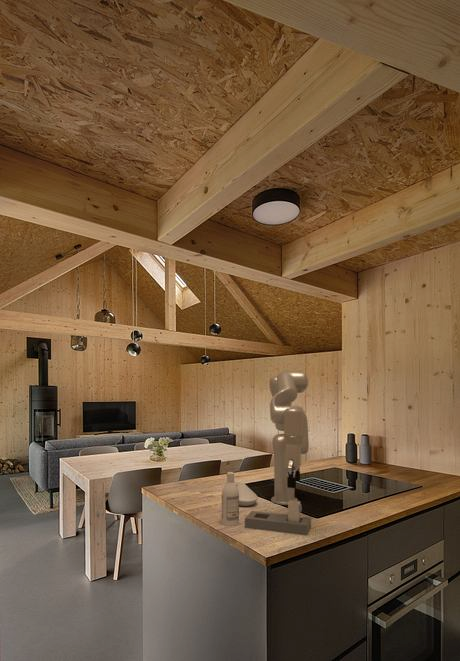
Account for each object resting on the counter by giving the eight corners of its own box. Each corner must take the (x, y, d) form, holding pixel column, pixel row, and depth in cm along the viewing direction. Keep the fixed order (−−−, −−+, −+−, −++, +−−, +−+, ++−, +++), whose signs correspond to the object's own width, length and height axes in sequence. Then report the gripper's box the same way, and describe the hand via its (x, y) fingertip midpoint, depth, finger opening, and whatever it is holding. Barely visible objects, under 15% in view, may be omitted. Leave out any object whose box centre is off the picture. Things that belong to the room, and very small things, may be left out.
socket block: (251, 521, 170) (251, 510, 170) (310, 528, 162) (310, 517, 162) (244, 529, 160) (244, 517, 161) (307, 536, 153) (306, 525, 153)
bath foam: (242, 524, 165) (242, 472, 168) (230, 528, 160) (230, 475, 163) (229, 520, 170) (230, 470, 173) (217, 524, 165) (218, 472, 168)
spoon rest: (260, 508, 188) (260, 491, 189) (234, 509, 186) (234, 492, 187) (249, 494, 212) (249, 479, 212) (226, 495, 210) (226, 480, 211)
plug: (290, 526, 162) (290, 500, 163) (302, 528, 160) (301, 501, 161) (288, 530, 158) (288, 502, 159) (300, 531, 156) (300, 504, 158)
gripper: (288, 435, 173) (288, 478, 171) (279, 442, 156) (279, 489, 155) (306, 437, 170) (306, 479, 169) (299, 444, 154) (299, 491, 152)
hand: (293, 484), depth 162 cm, fingers open, 9 cm apart
